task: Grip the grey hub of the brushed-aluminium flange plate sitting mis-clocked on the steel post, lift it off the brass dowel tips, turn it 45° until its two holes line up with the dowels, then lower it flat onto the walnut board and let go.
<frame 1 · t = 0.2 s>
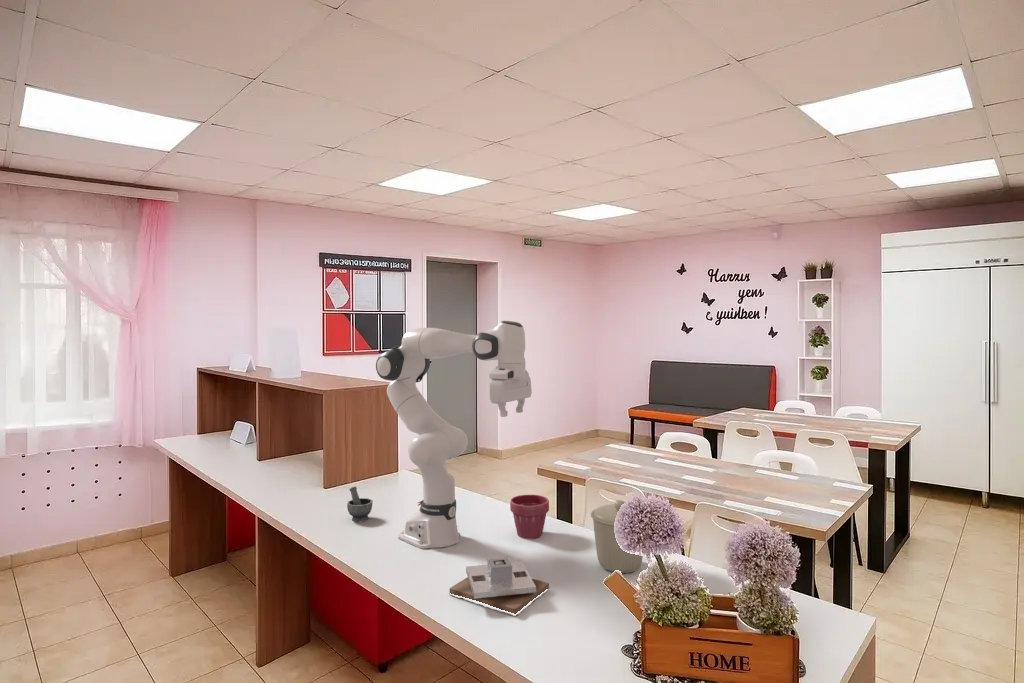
hand: (511, 414, 183), 47 cm above the table, tool pointing down, fingers open, 8 cm apart
post base: (499, 592, 162), on the table
canister: (619, 567, 180), on the table
flange plate: (499, 581, 162), point 3 cm above the table, touching post base
plant pot: (529, 535, 207), on the table
mortar and pestle: (359, 519, 224), on the table
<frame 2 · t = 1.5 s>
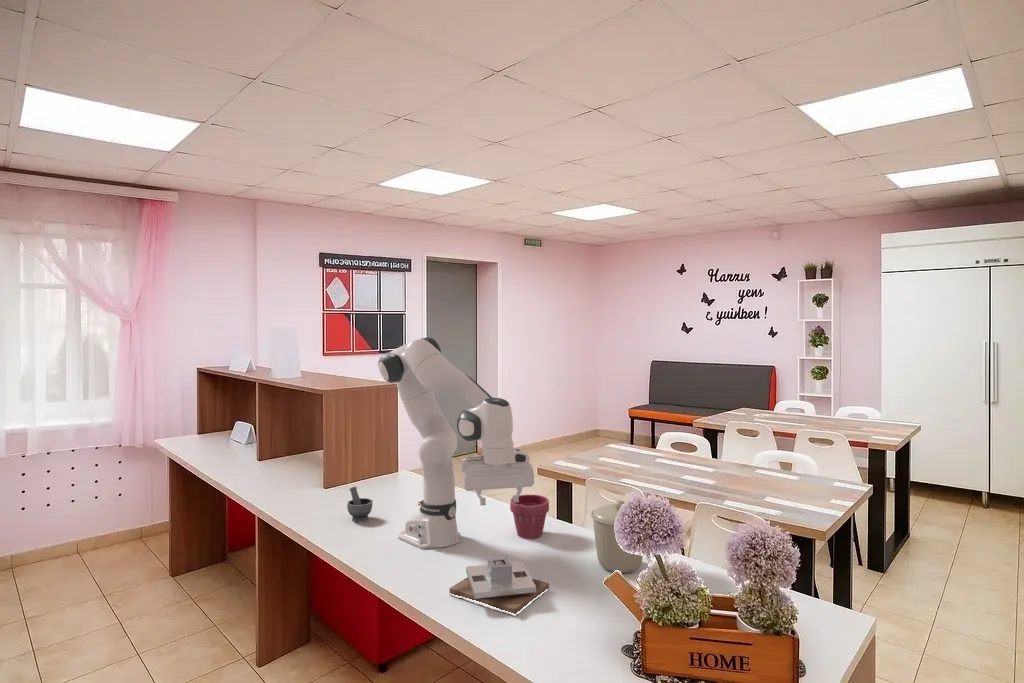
hand: (499, 503, 163), 25 cm above the table, tool pointing down, fingers open, 8 cm apart
nothing on the table moved.
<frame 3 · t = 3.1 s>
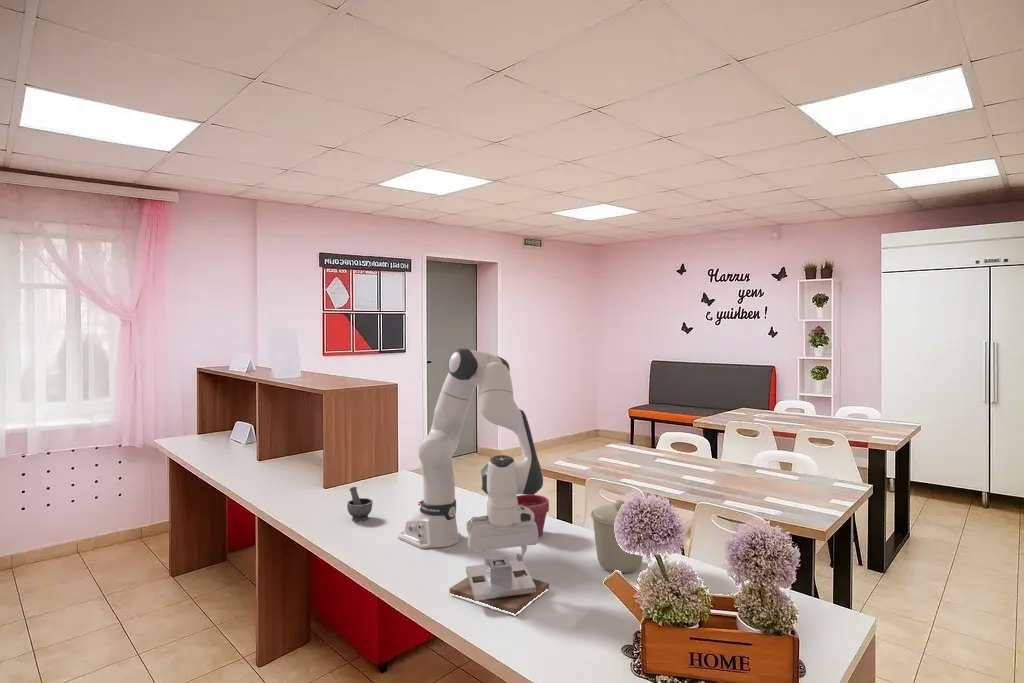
hand: (503, 562, 162), 9 cm above the table, tool pointing down, fingers open, 8 cm apart
flange plate: (499, 581, 162), point 3 cm above the table, touching gripper, post base
everything else where it was.
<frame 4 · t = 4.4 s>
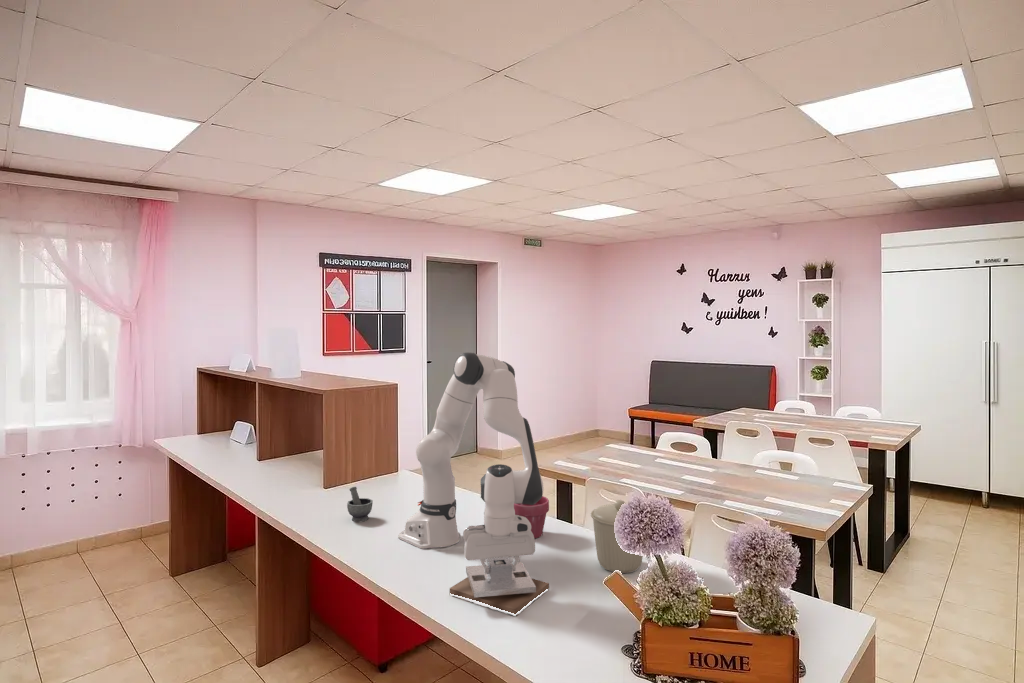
hand: (499, 571, 162), 6 cm above the table, tool pointing down, fingers closed on flange plate, 6 cm apart
flange plate: (499, 581, 162), point 3 cm above the table, touching gripper, post base
everything else where it was.
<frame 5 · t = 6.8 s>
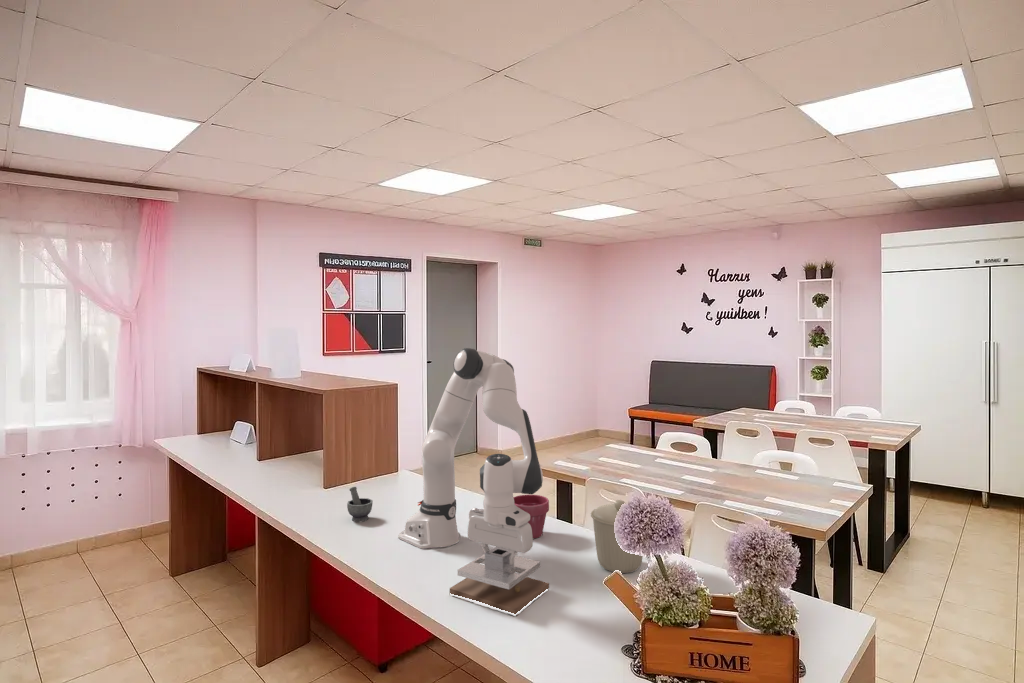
hand: (499, 561, 162), 9 cm above the table, tool pointing down, fingers closed on flange plate, 6 cm apart
flange plate: (499, 571, 162), point 6 cm above the table, touching gripper
everything else where it was.
when the fingers open (5 cm above the table, at t = 9.2 s): flange plate stays where it is, resting on post base.
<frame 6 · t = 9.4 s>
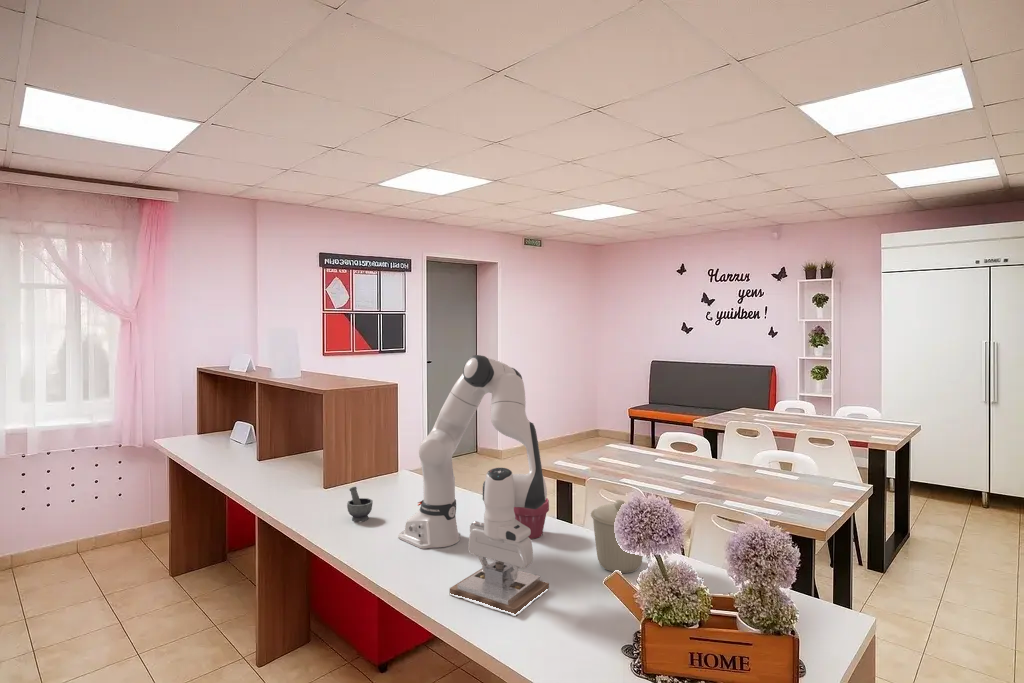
hand: (499, 574, 162), 5 cm above the table, tool pointing down, fingers open, 8 cm apart
flange plate: (499, 585, 162), point 2 cm above the table, touching post base
everything else where it was.
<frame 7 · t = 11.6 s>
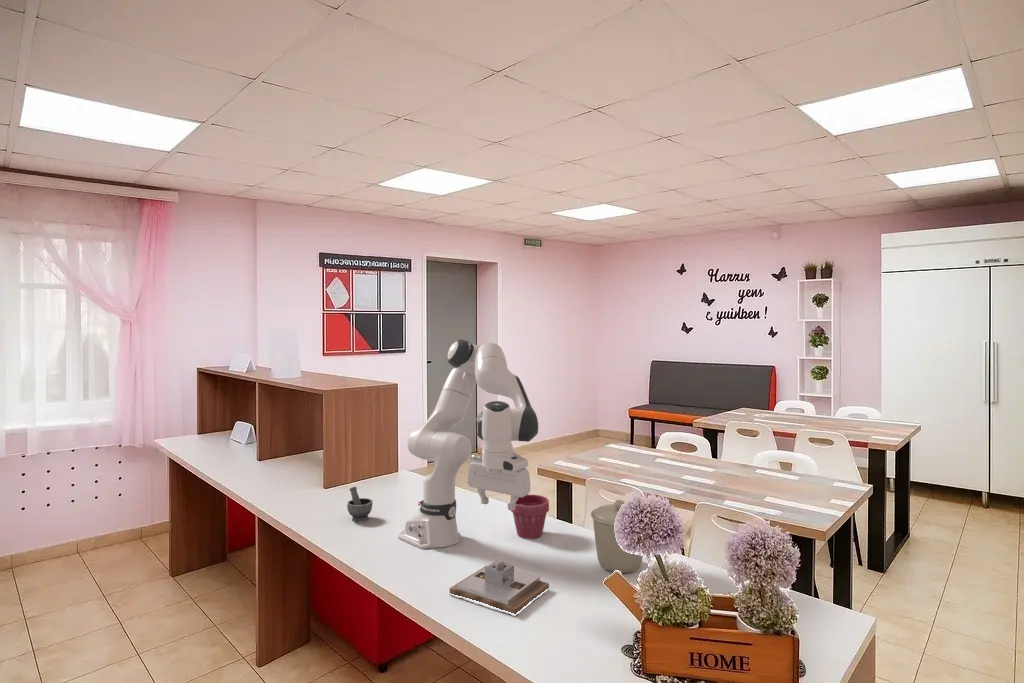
hand: (498, 506, 164), 24 cm above the table, tool pointing down, fingers open, 8 cm apart
nothing on the table moved.
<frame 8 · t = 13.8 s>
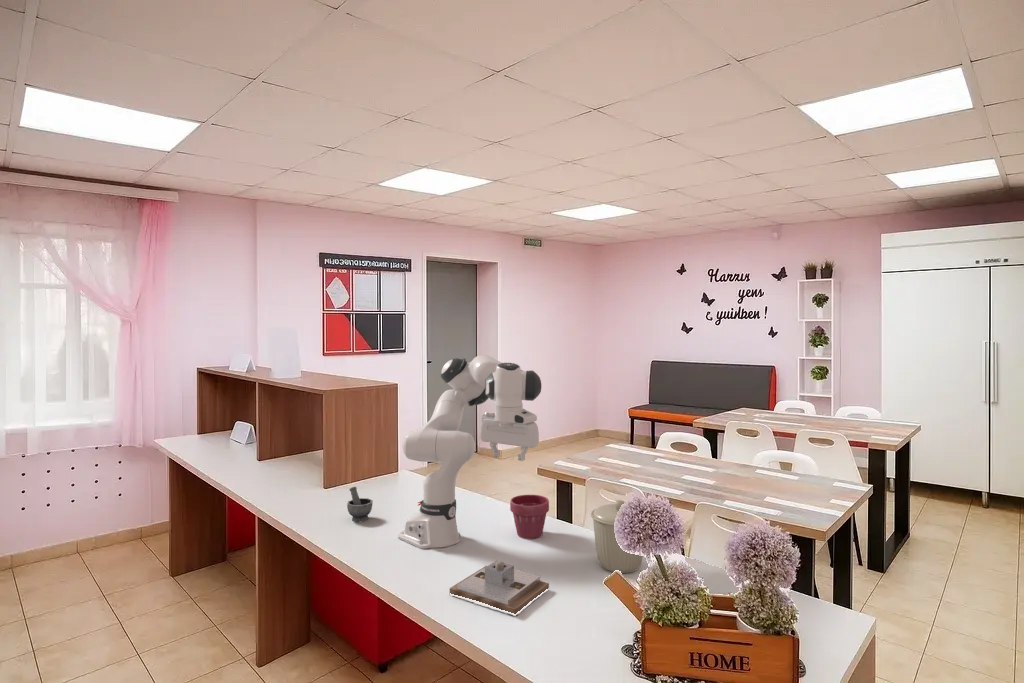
hand: (508, 458, 180), 34 cm above the table, tool pointing down, fingers open, 8 cm apart
nothing on the table moved.
at the end: flange plate 0.1 cm off-centre on the post base, point 2.0 cm above the post base's base; flange plate tilted 0°; the gripper is holding nothing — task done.
